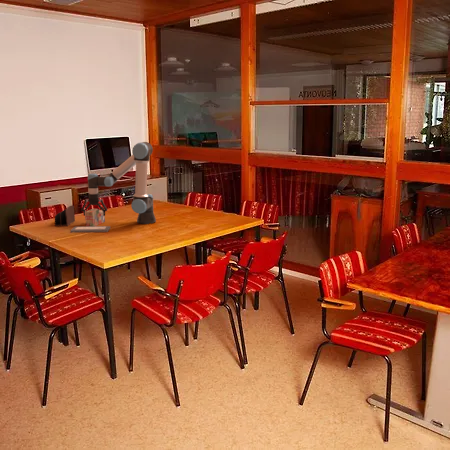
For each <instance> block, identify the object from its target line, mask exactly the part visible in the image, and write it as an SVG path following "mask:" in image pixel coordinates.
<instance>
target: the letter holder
mask: <svg viewBox="0 0 450 450" xmlns="http://www.w3.org/2000/svg"><path fill="white" fill-rule="evenodd" d="M75 216H76V215H75V207H74V205H69V206H68V207H67V208H66V209H64V210H62V211H59V212H58V213H57V214H55V216H54V227H69V226H70V225H72V224H73V223H74V222H76V217H75Z"/></svg>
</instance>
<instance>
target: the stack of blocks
mask: <svg viewBox="0 0 450 450" xmlns="http://www.w3.org/2000/svg"><path fill="white" fill-rule="evenodd" d="M102 212H103V211H102V210H101V209H100V208H91V209H89V210H88V209H87V210H86V212H85V215H86V216H84V218H85V217H86V220H85V226H100V225H101V224H103V223H105V221H106V217H105V216H106V215H105V216H104V220H103V219H102Z"/></svg>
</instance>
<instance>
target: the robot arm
mask: <svg viewBox="0 0 450 450" xmlns="http://www.w3.org/2000/svg"><path fill="white" fill-rule="evenodd" d="M131 151H132V155H130V157H128V158H127V159H126V160H125V161H124V162H122V163H121V164H120V165H118V167H116V168H115V169H114V170H113V171H112V172H110V173H109V174H108V175H105V176H100V175H98V173H96V172H95V173H89V174H87V185H88V186H87V190H88V199H87V198H85V199H84V202H83V205H82V207H81V208H80V211H81V212H82V213H83V216H84V220H85V221H86V217H85V216H86V215H85V212H86V211H88V209H89V208H90V207H91V206H97V207H99V208H98V209H99V210H102V211H103V212H102V219H103V220H104V216H106V212H107V211H108V207H107V206H106V203H105V202H104V199H102V198H101V199H99V197H100V196H99V187H112V186H113V185H114V184H115V183H117V182H118V181H119V179H121V178H122V177H123V176H124V175H125V174H126V173H128V172H129V171H131V169H133V168H134V167H135V193H134V194H133V196H132V198H133V199H132V202H131V210H132V211H133V212H134V213H136V214H137V218H136V222H137V223H136V224H140V225H147V224H148V225H149V223H151V224H154V222H155V223H156V222H157V218H156V216H155V213H154V196H153V194H151V193H147V192H148V191H147V190H148V188H147V187H148V185H147V184H148V163H149V162H150V156H151V155H152V154H153V151H154V149H153V146H152V144H151V143H149V142H147V141H142V142H137V143H136V144H135V145H133V147H132V150H131ZM87 203H88V204H87ZM100 203H101V204H100ZM86 205H87V206H86Z"/></svg>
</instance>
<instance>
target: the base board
mask: <svg viewBox="0 0 450 450" xmlns="http://www.w3.org/2000/svg"><path fill="white" fill-rule="evenodd" d="M110 230H111V225H106V226H105V225H103V226H100V225H97V226H86V225H85V226H74V227H72V228H71V229H70V233H108V232H109V231H110Z"/></svg>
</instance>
